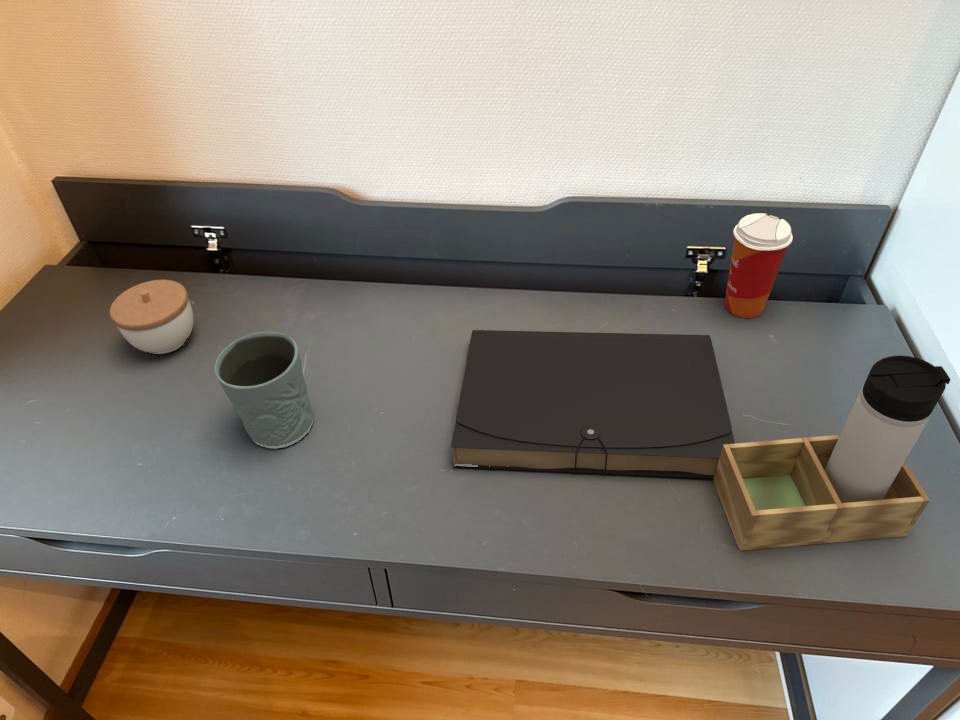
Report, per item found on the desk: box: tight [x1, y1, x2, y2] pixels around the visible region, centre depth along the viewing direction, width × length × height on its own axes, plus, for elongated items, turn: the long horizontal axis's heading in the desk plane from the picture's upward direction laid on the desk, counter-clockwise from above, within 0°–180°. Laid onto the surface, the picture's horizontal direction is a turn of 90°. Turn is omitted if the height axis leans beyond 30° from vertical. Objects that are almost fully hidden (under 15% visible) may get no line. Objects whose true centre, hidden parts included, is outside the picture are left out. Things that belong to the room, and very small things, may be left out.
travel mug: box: [824, 355, 951, 503], centre depth 72 cm, size 6×7×20 cm
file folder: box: [450, 329, 736, 479], centre depth 92 cm, size 33×4×24 cm
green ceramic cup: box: [213, 331, 314, 446], centre depth 89 cm, size 10×10×12 cm
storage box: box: [712, 434, 931, 552], centre depth 77 cm, size 18×9×7 cm, turn 94°
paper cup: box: [724, 212, 794, 319], centre depth 100 cm, size 8×8×14 cm
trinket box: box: [109, 279, 195, 354], centre depth 103 cm, size 11×11×9 cm
